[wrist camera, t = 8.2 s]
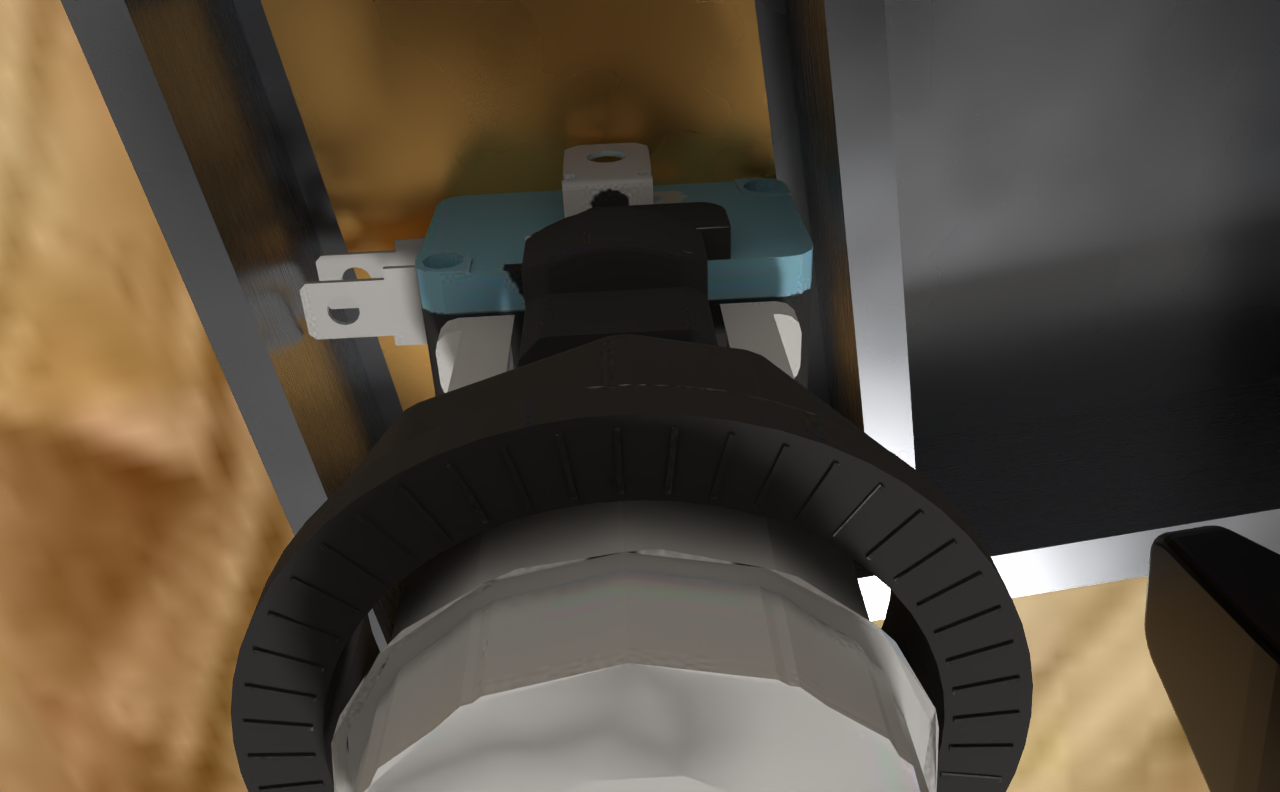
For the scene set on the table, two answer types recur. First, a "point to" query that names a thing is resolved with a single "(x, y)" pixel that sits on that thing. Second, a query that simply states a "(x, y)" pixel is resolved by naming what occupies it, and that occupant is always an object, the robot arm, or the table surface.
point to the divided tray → (825, 198)
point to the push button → (622, 529)
